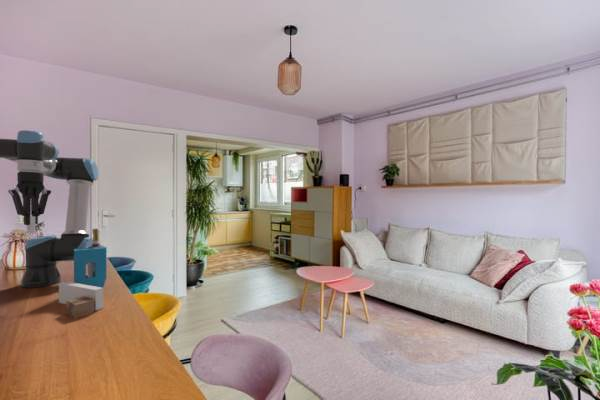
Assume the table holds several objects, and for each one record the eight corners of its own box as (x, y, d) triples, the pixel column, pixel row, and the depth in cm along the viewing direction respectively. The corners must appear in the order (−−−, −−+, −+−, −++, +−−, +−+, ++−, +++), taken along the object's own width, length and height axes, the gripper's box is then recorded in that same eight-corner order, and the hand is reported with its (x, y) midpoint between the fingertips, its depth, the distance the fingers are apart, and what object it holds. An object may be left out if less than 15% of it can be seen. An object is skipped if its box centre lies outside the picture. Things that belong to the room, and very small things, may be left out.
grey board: (59, 302, 125) (58, 283, 124) (66, 300, 127) (66, 281, 127) (95, 310, 116) (95, 290, 116) (103, 308, 119) (103, 287, 119)
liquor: (106, 284, 150) (106, 227, 149) (104, 288, 143) (104, 229, 143) (88, 286, 147) (88, 228, 146) (85, 290, 140) (85, 230, 140)
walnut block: (66, 313, 114) (66, 300, 114) (84, 308, 119) (84, 296, 119) (75, 318, 109) (75, 305, 109) (94, 313, 114) (94, 300, 114)
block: (74, 296, 132) (73, 250, 132) (74, 293, 136) (73, 249, 136) (106, 291, 139) (106, 248, 139) (105, 288, 143) (105, 246, 143)
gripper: (15, 170, 109) (15, 235, 109) (55, 172, 121) (56, 231, 122) (3, 170, 112) (3, 234, 112) (44, 173, 124) (44, 230, 124)
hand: (31, 233), depth 117 cm, fingers closed
